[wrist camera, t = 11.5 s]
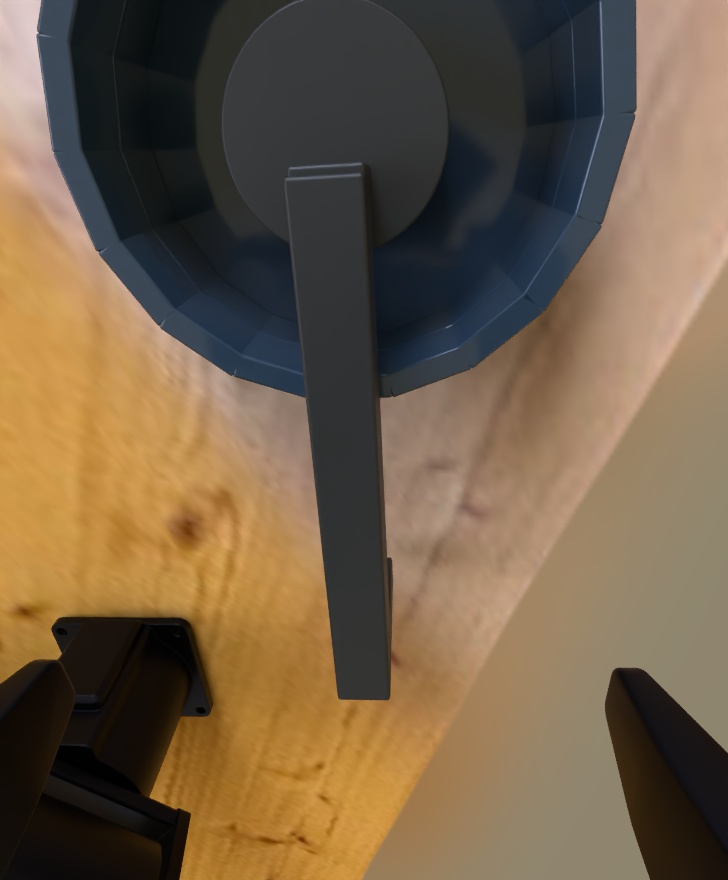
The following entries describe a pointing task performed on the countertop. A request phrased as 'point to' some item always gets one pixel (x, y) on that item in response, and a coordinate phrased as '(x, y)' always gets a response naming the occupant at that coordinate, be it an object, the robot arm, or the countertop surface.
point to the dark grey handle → (340, 259)
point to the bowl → (395, 264)
